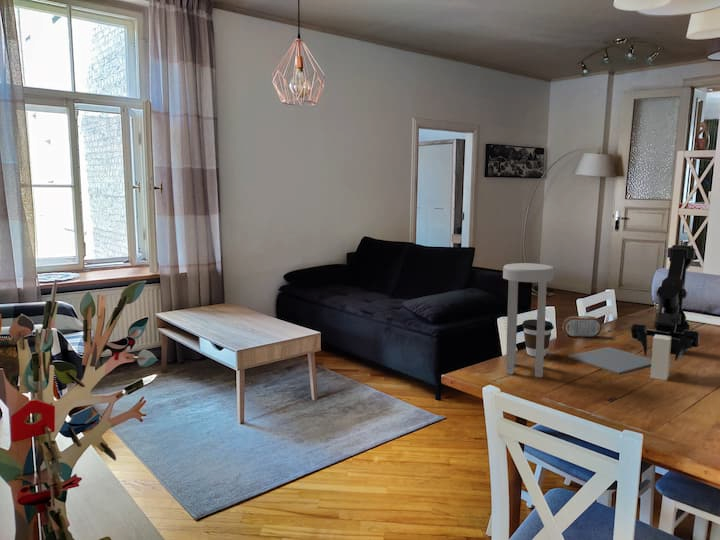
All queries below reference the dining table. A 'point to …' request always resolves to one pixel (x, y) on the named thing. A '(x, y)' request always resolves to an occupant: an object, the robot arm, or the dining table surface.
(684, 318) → the robot arm
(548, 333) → the coffee cup
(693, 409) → the dining table surface
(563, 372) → the dining table surface
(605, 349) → the mat
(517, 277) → the stool
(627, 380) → the dining table surface
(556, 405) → the dining table surface
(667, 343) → the card box
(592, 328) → the tin
